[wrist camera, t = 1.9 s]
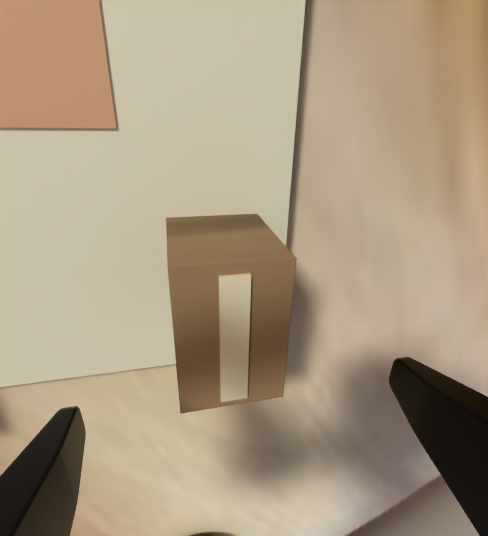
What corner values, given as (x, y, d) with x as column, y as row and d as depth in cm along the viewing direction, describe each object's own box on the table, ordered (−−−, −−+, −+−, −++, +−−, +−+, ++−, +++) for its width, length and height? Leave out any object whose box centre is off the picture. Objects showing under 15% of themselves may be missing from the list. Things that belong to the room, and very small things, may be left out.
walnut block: (165, 217, 14) (167, 270, 10) (257, 213, 15) (297, 260, 10) (175, 332, 17) (180, 416, 12) (252, 323, 18) (284, 399, 13)
